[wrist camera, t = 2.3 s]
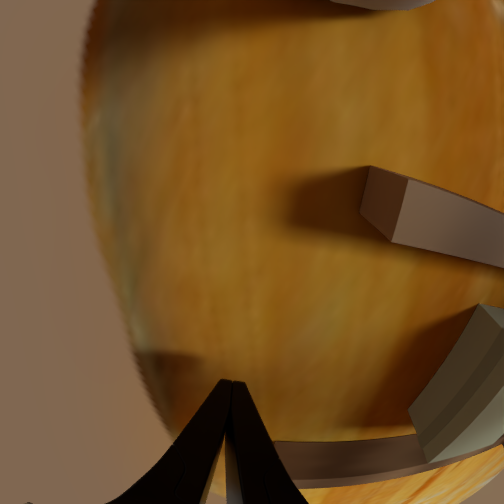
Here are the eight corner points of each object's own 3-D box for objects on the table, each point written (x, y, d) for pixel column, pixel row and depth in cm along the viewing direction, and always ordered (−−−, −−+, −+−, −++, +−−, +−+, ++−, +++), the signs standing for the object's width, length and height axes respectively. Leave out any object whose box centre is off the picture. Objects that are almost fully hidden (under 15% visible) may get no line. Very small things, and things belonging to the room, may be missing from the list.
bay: (596, 261, 9) (626, 285, 5) (503, 420, 15) (519, 450, 11) (372, 157, 8) (448, 180, 4) (268, 454, 14) (268, 512, 10)
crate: (530, 312, 10) (568, 351, 7) (470, 401, 13) (492, 444, 9) (476, 300, 10) (525, 354, 6) (405, 407, 13) (426, 464, 9)
